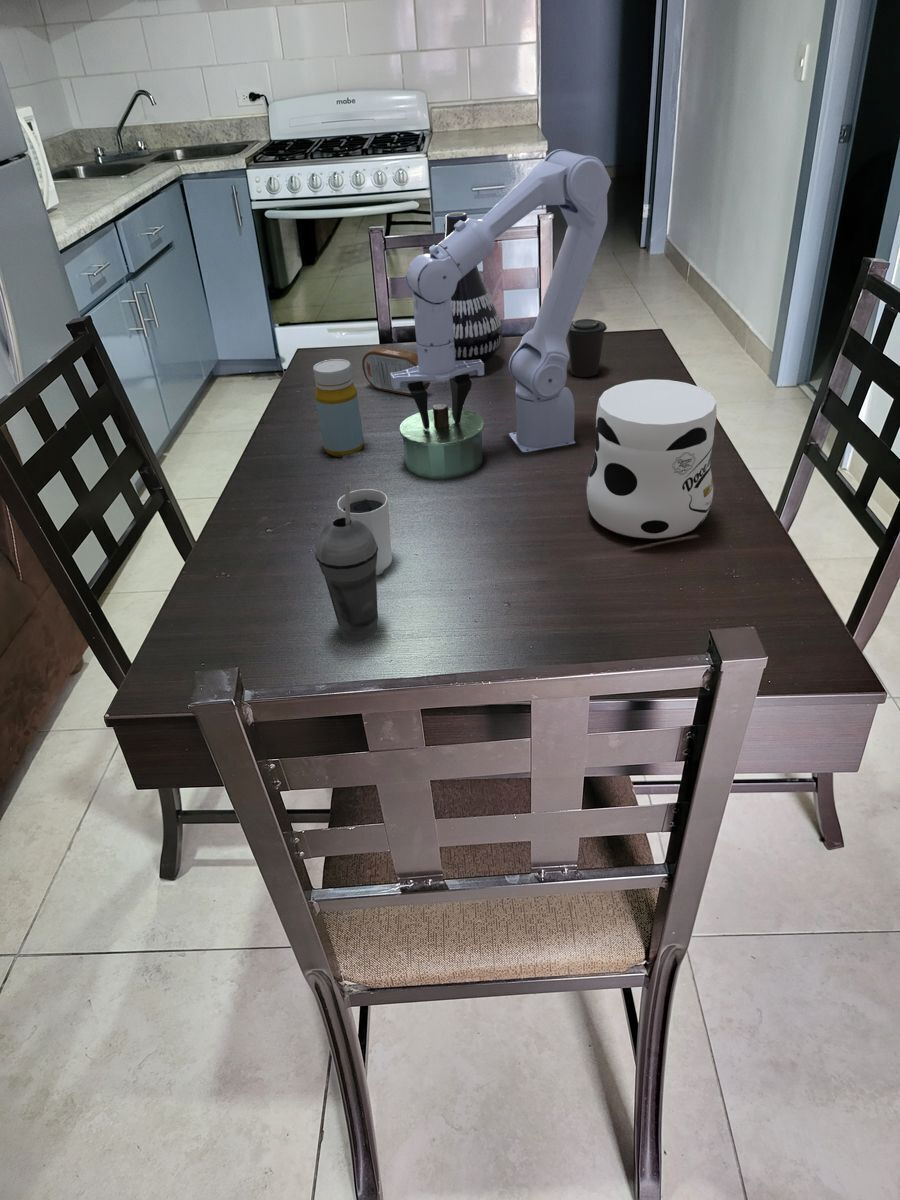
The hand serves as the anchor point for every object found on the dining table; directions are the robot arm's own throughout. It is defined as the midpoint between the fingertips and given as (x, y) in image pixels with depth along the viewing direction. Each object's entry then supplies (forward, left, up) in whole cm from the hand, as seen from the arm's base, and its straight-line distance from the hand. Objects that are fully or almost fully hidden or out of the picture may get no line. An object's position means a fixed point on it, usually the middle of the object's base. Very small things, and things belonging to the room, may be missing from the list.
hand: (441, 423), depth 134 cm
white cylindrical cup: (+17, +26, -7) cm, 32 cm away
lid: (0, 0, -1) cm, 1 cm away
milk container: (-23, +28, -7) cm, 37 cm away
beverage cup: (+21, +40, -7) cm, 46 cm away
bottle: (+15, -12, -7) cm, 21 cm away
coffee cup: (-36, -28, -7) cm, 46 cm away
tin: (+1, -34, -7) cm, 35 cm away
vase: (-15, -42, -7) cm, 45 cm away
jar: (0, 0, -7) cm, 7 cm away
